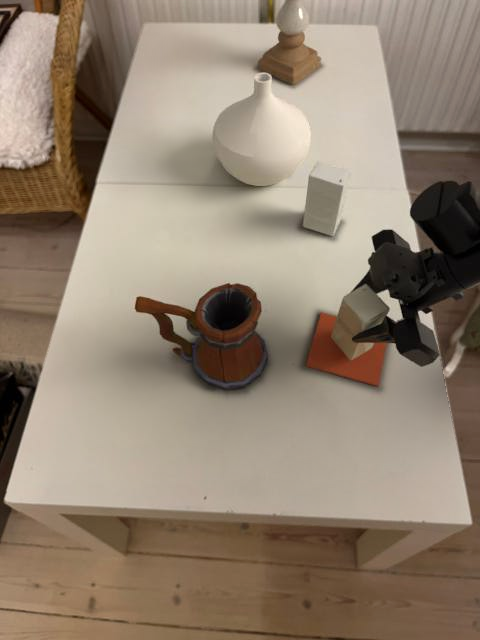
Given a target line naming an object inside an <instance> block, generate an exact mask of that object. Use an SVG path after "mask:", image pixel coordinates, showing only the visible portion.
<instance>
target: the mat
mask: <svg viewBox="0 0 480 640" xmlns="http://www.w3.org/2000/svg"><path fill="white" fill-rule="evenodd" d="M336 318H337V315H333V314H329V313H326V312H322V311H321V312H320V315H319V318H318V321H317V325H316V329H315V332H314V335H313V339H312V341H311V346H310V349H309V352H308V355H307V358H306V363H305V367H307V368H311V369H314V370H319V371H322V372H325V373H328V374H333V375H336V376H339V377H342V378H346V379H349V380H354V381H357V382H360V383H364V384H367V385H371V386H374V387H379V384H380V379H381V374H382V371H383V370H382V369H383V364H384V360H385V354H386V349H387V344H388V343H374V344H373V346H372V348H371V349H370V350H368V351H366V352H365V353H363V354H362V355H360V356H358V357H356V358H355V359H353V360H350V359H349V358H348V357H347V356H346V355H345V354H344V352H343V351H342V350H341V349H340V348H339V347H338V345H337V344H336V343H335V342H334V340H333V339H332V338H331V334H332V331H333V328H334V325H335V322H336Z"/></svg>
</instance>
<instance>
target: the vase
mask: <svg viewBox="0 0 480 640" xmlns="http://www.w3.org/2000/svg"><path fill="white" fill-rule="evenodd" d="M272 81H273V76H272V75H270V74H268V73H266V72H264V71H261V72H258V73H256V74H255V75H254V77H253V93H252V94H250V95H249V96H247V97H246V98H244V99H241V100H238V101H236V102H234V103H232V104H230V105H229V106H227V107H225V108H224V109H223V110H222V111H221V112H220V113H219V114H218V115H217V116H218V117H217V118H216V120H215V122H214V125H213V127H212V136H211V137H212V138H211V139H212V146H213V149H214V153H215V155H216V157H217V158H218V160H219V162H220V163H221V165H222V166H223V168H224V169H225V171H226V172H227V173H228V174H230V175H231V176H232V177H234V178H235V179H236V180H238V181H239V182H242V183H244V184H246V185H250V186H255V187H266V186H271V185H275V184H278V183H281V182H282V181H284V180H285V179H287V178H288V177H290V176H292V175H293V174H294V173H295V172H296V171H297V170H298V168H299V167H300V166H301V165H302V163H303V161H304V160H305V158H306V157H307V155H308V153H309V150H310V148H311V147H310V146H311V140H312V133H311V127H310V124H309V121H308V118H307V116H306V115H305V113H304V112H303V111H302V110H301V109H299V107H297V106H295V105H293V104H292V103H290V102H288V101H285V100H283V99H282V98H279V97H277V96H275V95H274V93H273V91H272V83H273V82H272Z"/></svg>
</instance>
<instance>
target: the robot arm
mask: <svg viewBox="0 0 480 640" xmlns="http://www.w3.org/2000/svg"><path fill="white" fill-rule="evenodd" d="M409 216H410V218H411V219H412V221H414V223H415V224H416V225H417V227H419V229H420V230H421V231H422V232H423V233H424V235H425V236H426V237H427V238H428V239H429V240H430V242H431V243H432V244H433V245H434V246H435V247H436V248H437V250H438V251H437V250H436V249H435V248H434V247H433V246H431V247H429V248H424V249H423V250H421V251H416V252H415V251H413V250H412V248H411V246H410V243H409V242H408V241H406V240H405V239H404V238H403V237H402V236H401V235H400V234H399V233H397V232H396V231H395V230H394V229H390V228H389V229H382V230H379V231H378V232H376V233H375V234H373V235H371V240H372V245H373V251H372V252H371V254H370V256H369V257H368V258H367V264H368V265H369V269H368V271H367V272H366V273H365V275H364V276H363V277H362V279H361V280H360V281H359V282H358V283H357V284H356V285H355V286H354V288H353V289H352V290H351V291H350V292H349V293H351V292H352V291H354V290H356V289H357V288H359V287H361V286H363V285H365V284H367V285H368V286H369V287H370V288H371V289H372V290H373V291H374V292H375V293H376V294H377V295H378V294H380V293H383V292H385V291H387V290H388V294H389V297H390V298H391V299H394V300H398V304H399V309H400V313H401V317H402V318H401V319H398V320H396V321H395V320H394V319H393V318H391V317H389V316H388V315H387V316H385V318H384V319H383V321H382V323H381V324H379V325H377V326H374V327H372V328H370V329H368V330H365V331H363V332H361V333H359V334H357V335H355V336H354V337H352V341H354V342H355V343H387V344H395V348H396V349H395V350H396V351H397V352H398V354H399V355H400V356H402V357H404V358H405V359H406V360H409V361H410V362H412V363H414V364H415V365H417V366H419V367H421V368H423V367H426V366H429V365H431V364H434V363H435V362H436V361H437V360H438V358H439V356H440V349H439V346H438V343H437V341H436V336H435V333H434V330H433V329H431V328H430V327H428V326H427V325H425V324H424V323H423V322H421V318H420V314H419V312H422V313H424V314H425V315H428V314H430V313H432V312H434V309H433V306H434V305H436V304H439V303H441V302H443V301H445V300H447V299H449V298H452V299H453V300H455V301H459V300H461V299H464V298H465V296H464V293H463V292H465V291H467V290H469V289H472V288H474V287H476V286H478V285H480V194H479V192H478V189H477V188H476V186H475V185H474V183H473V182H472V181H466V182H463V183H461V184H459V183H458V181H454V180H444V181H443V180H439V181H437V182H435V183H433V184H431V185H429V186H428V187H427V188H425V189H424V190H422V192H420V194H419V195H418V196H416V198H415V199H414V201H413V202H412V204H411V206H410V209H409Z"/></svg>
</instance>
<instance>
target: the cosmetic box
mask: <svg viewBox="0 0 480 640" xmlns="http://www.w3.org/2000/svg"><path fill="white" fill-rule="evenodd" d="M351 172H352V170H351V169H348V168H344V167H340V166H337V165H333V164H329V163H326V162H323V161H319V160H317V161H316V163H315V165H314V166H313V168H312V169H311V171H310V173H309V174H308V178H307V179H308V180H307V188H306V197H305V205H304V211H303V220H302V221H303V222H302V227H303V228H305V229H308V230H311V231H315V232H318V233H321V234H325V235H327V236H331V237H334V235H335V233H336V231H337V229H338V228H339V225H340V223H341V219H342V214H343V211H344V206H345V202H346V196H347V191H348V186H349V183H350V177H351Z"/></svg>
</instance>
